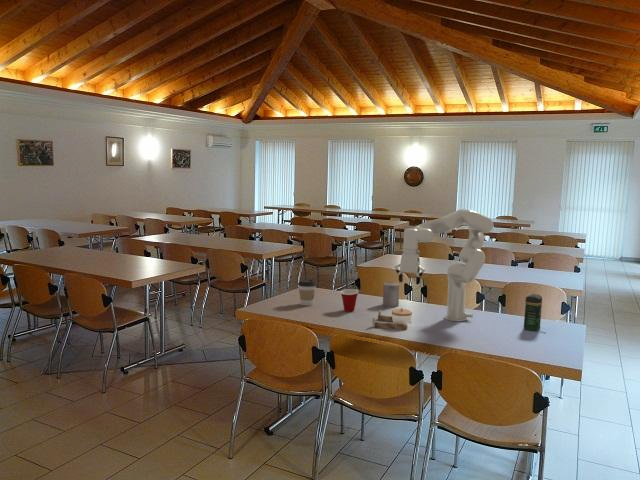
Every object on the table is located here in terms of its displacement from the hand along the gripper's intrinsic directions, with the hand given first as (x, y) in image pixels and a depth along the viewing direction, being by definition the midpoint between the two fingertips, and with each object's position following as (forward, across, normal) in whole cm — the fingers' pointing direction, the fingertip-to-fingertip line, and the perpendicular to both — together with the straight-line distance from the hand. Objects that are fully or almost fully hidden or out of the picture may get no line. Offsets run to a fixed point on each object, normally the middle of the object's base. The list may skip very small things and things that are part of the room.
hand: (409, 283), depth 300 cm
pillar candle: (+23, +25, -33) cm, 47 cm away
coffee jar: (+23, -59, -28) cm, 69 cm away
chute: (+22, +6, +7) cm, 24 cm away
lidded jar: (+23, +2, +6) cm, 23 cm away
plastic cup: (+23, +40, -6) cm, 46 cm away
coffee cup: (+23, +68, -6) cm, 72 cm away
